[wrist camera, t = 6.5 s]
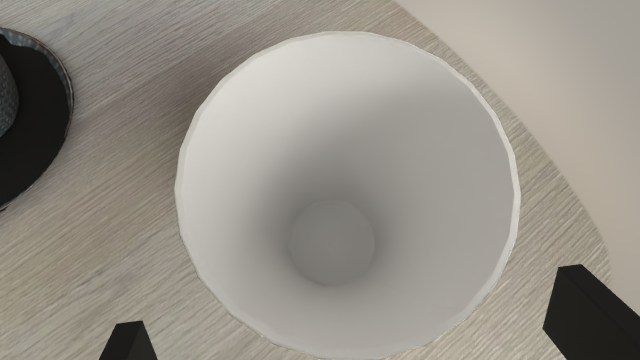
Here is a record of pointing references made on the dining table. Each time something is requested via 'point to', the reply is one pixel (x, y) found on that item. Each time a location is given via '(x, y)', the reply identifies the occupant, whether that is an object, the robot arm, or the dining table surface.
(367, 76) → the cup
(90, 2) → the dining table surface
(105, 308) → the dining table surface
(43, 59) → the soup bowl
